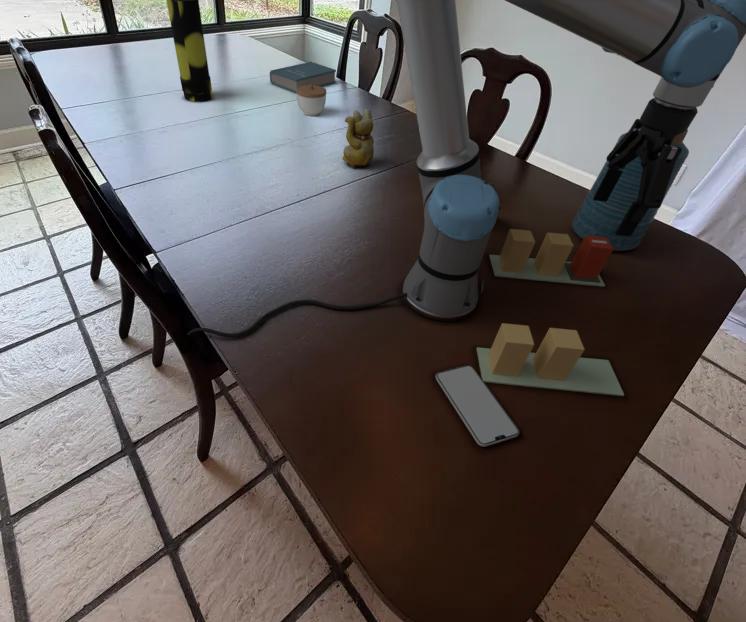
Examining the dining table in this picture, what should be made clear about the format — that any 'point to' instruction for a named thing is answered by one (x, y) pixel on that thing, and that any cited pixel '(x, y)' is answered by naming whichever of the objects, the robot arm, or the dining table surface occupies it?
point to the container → (190, 49)
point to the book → (302, 76)
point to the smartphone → (477, 406)
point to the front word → (545, 362)
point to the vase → (621, 203)
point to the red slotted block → (591, 257)
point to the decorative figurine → (359, 139)
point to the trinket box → (311, 99)
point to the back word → (538, 259)
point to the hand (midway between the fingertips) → (610, 216)
